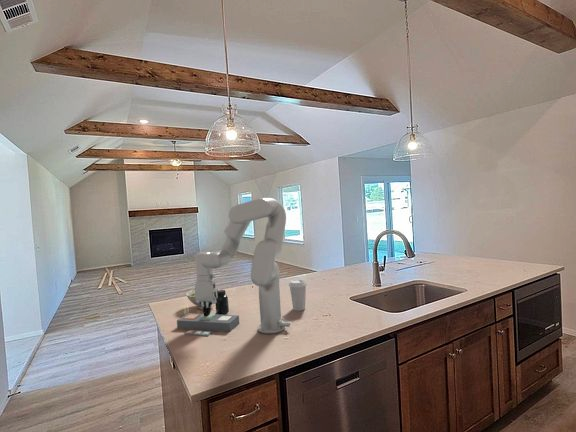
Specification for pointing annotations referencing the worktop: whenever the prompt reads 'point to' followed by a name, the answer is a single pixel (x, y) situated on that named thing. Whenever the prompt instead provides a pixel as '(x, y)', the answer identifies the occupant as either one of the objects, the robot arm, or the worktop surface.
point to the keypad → (208, 323)
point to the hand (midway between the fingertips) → (206, 314)
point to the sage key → (207, 317)
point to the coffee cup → (298, 294)
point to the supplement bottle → (222, 303)
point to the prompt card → (198, 333)
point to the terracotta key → (191, 316)
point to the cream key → (224, 318)
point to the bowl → (192, 297)
